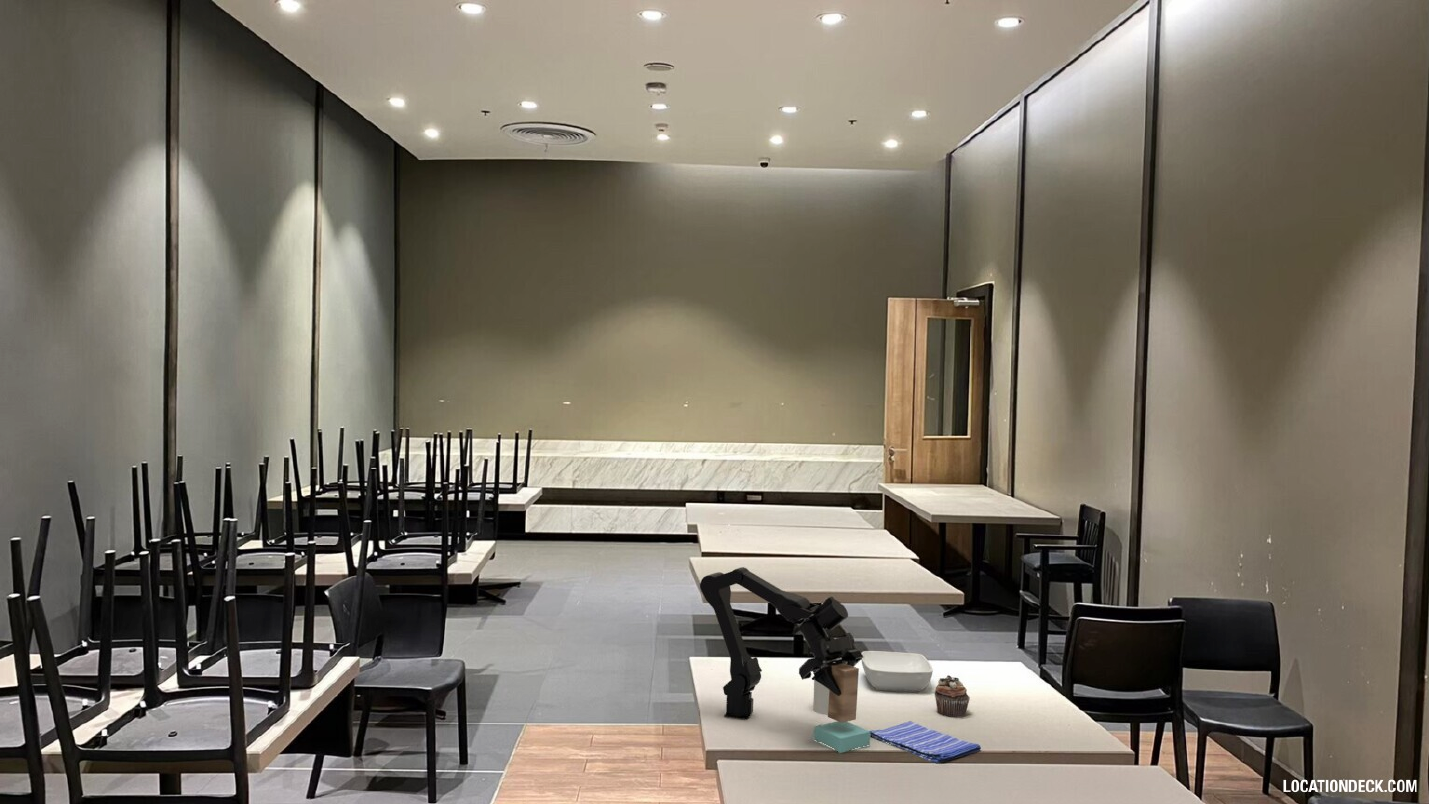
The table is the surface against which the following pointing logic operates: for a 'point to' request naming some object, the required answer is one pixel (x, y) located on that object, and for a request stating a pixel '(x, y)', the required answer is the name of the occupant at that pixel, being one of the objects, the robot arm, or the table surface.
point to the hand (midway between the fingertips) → (847, 693)
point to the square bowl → (896, 670)
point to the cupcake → (951, 697)
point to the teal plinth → (842, 736)
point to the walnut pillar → (844, 693)
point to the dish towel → (925, 742)
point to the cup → (820, 698)
